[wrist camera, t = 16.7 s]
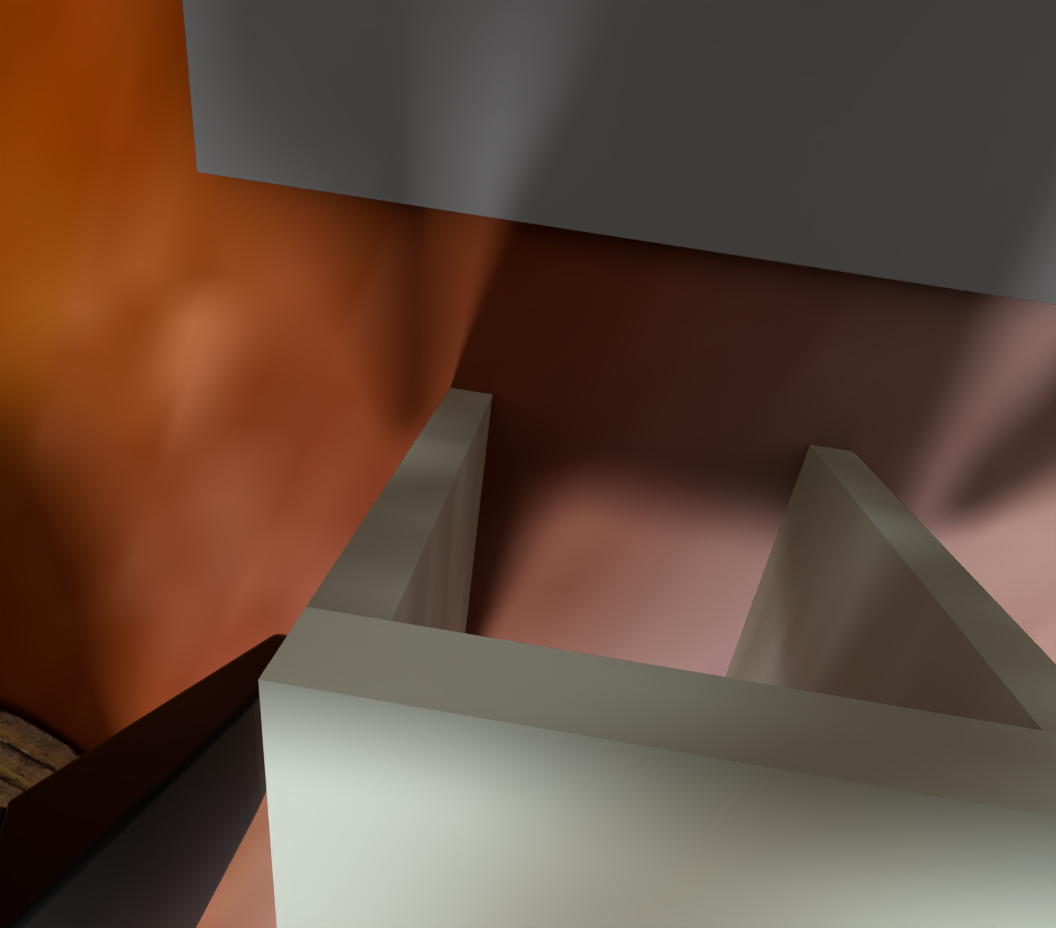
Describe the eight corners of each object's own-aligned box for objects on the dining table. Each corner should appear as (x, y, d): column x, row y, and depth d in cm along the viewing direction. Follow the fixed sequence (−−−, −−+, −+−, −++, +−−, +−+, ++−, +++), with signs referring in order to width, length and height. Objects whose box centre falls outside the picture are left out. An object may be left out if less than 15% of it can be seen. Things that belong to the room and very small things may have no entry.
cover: (852, 451, 10) (1227, 845, 4) (738, 738, 13) (864, 1213, 7) (450, 387, 10) (258, 679, 4) (425, 684, 13) (290, 1105, 7)
